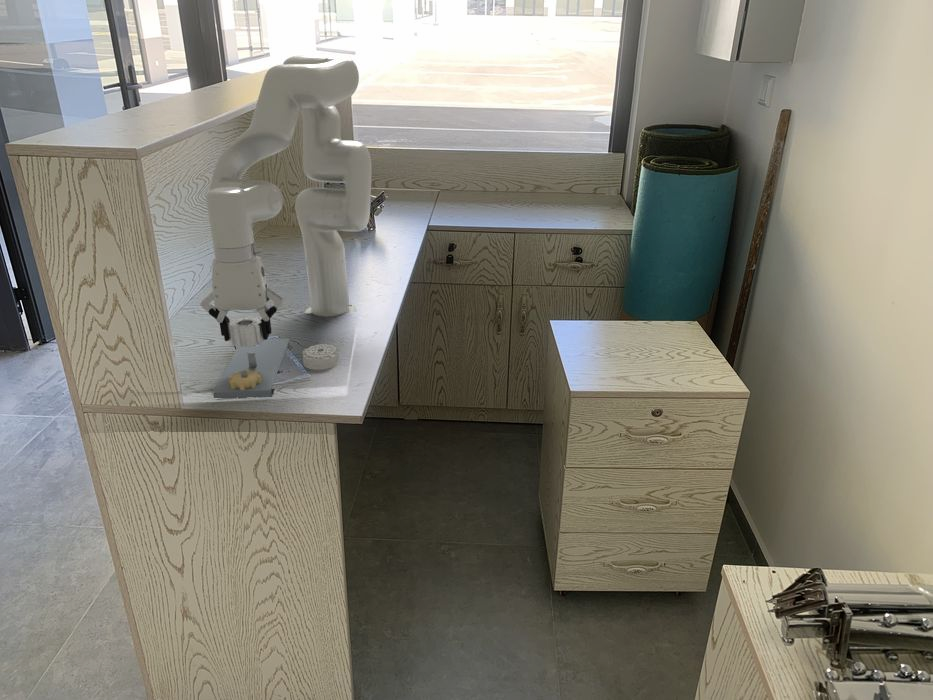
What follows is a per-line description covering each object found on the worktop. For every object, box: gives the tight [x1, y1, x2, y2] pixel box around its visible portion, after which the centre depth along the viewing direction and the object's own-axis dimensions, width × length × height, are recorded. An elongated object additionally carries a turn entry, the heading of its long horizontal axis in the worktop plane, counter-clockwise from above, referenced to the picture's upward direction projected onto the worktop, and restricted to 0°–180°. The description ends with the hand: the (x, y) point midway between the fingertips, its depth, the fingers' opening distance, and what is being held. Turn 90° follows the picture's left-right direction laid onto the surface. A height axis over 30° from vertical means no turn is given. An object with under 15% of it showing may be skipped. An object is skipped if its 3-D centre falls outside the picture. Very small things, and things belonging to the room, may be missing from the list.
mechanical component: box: [302, 343, 341, 371], centre depth 146 cm, size 10×4×10 cm
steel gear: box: [227, 316, 265, 348], centre depth 141 cm, size 7×7×4 cm
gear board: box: [212, 338, 291, 399], centre depth 145 cm, size 25×11×4 cm, turn 5°
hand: (247, 337), depth 141 cm, fingers closed on steel gear, 7 cm apart
